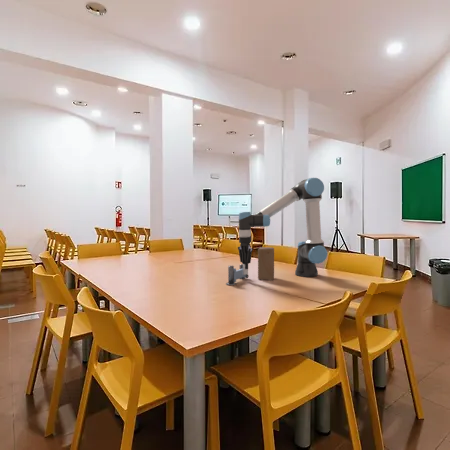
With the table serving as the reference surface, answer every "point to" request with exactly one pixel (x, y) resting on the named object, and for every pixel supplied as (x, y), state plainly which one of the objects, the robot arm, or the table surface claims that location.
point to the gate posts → (232, 275)
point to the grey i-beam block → (239, 274)
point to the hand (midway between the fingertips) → (245, 274)
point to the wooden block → (266, 263)
